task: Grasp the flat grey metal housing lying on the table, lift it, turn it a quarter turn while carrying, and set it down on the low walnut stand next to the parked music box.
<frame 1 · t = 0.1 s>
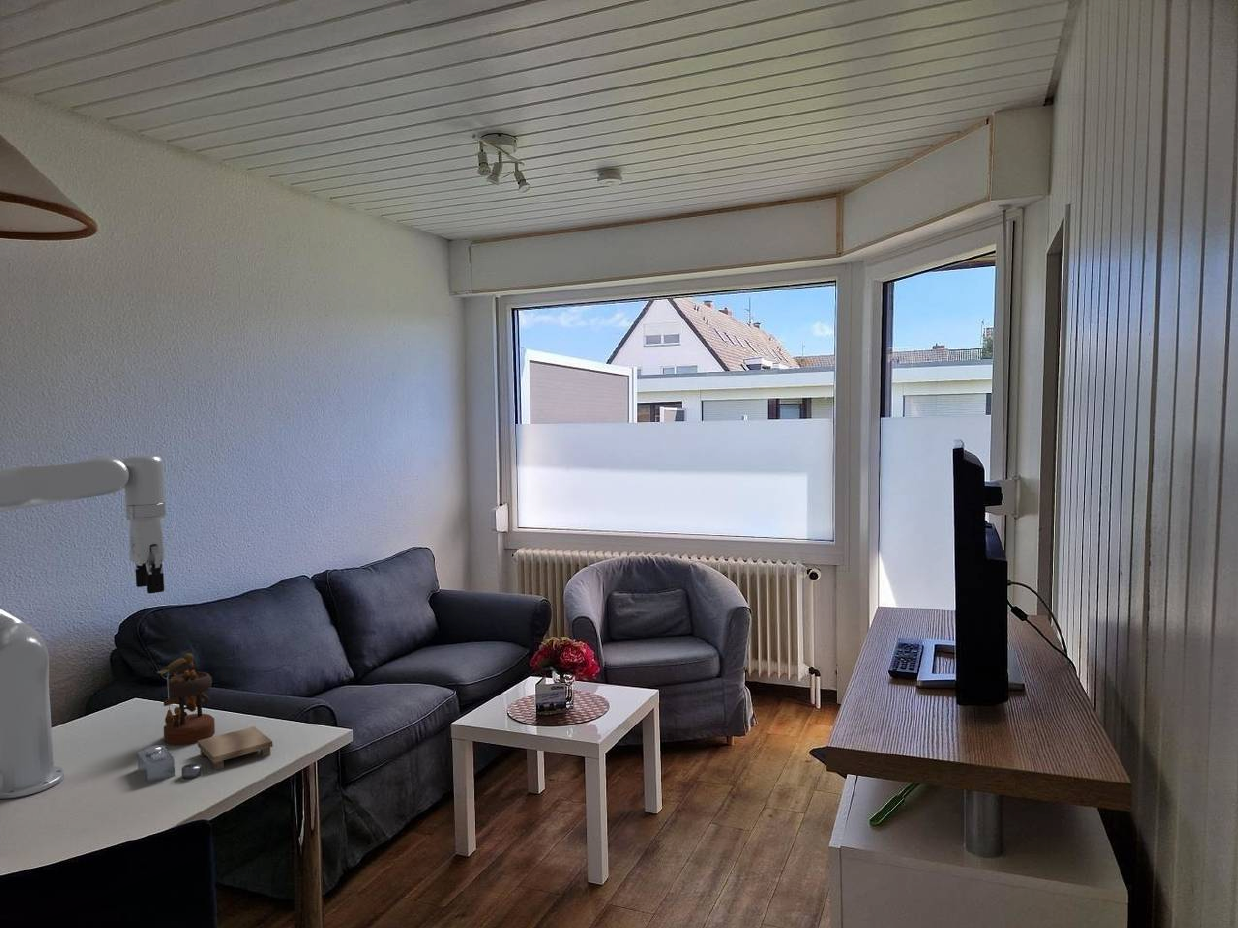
hand: (150, 589, 178), 37 cm above the table, tool pointing down, fingers open, 9 cm apart
dark grey round piece: (191, 776, 167), on the table
stand: (235, 754, 177), on the table
music box: (192, 735, 189), on the table
housing: (156, 773, 169), on the table
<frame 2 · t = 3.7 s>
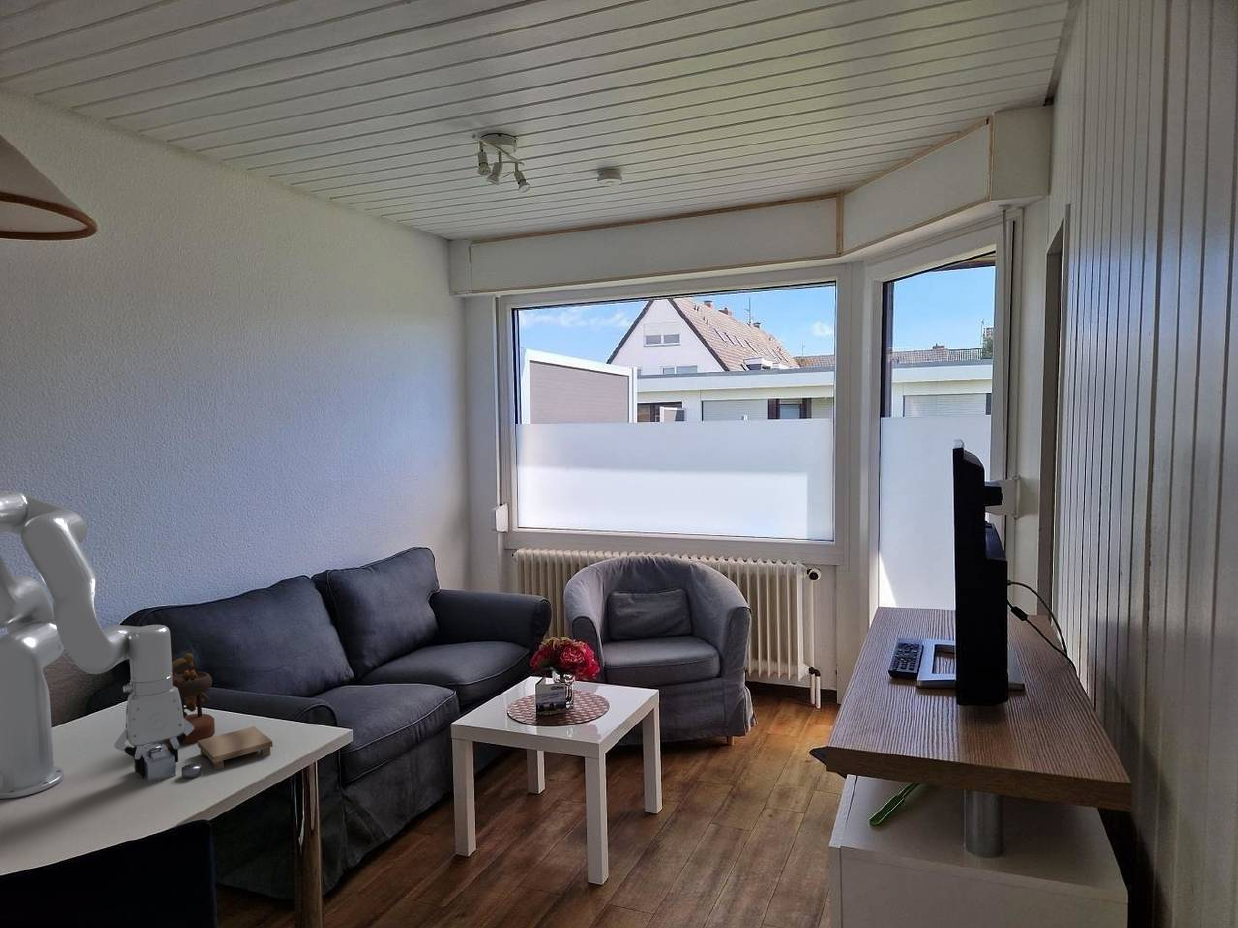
hand: (157, 769, 169), 1 cm above the table, tool pointing down, fingers closed on housing, 5 cm apart
housing: (157, 772, 169), on the table, touching gripper
everything else where it was.
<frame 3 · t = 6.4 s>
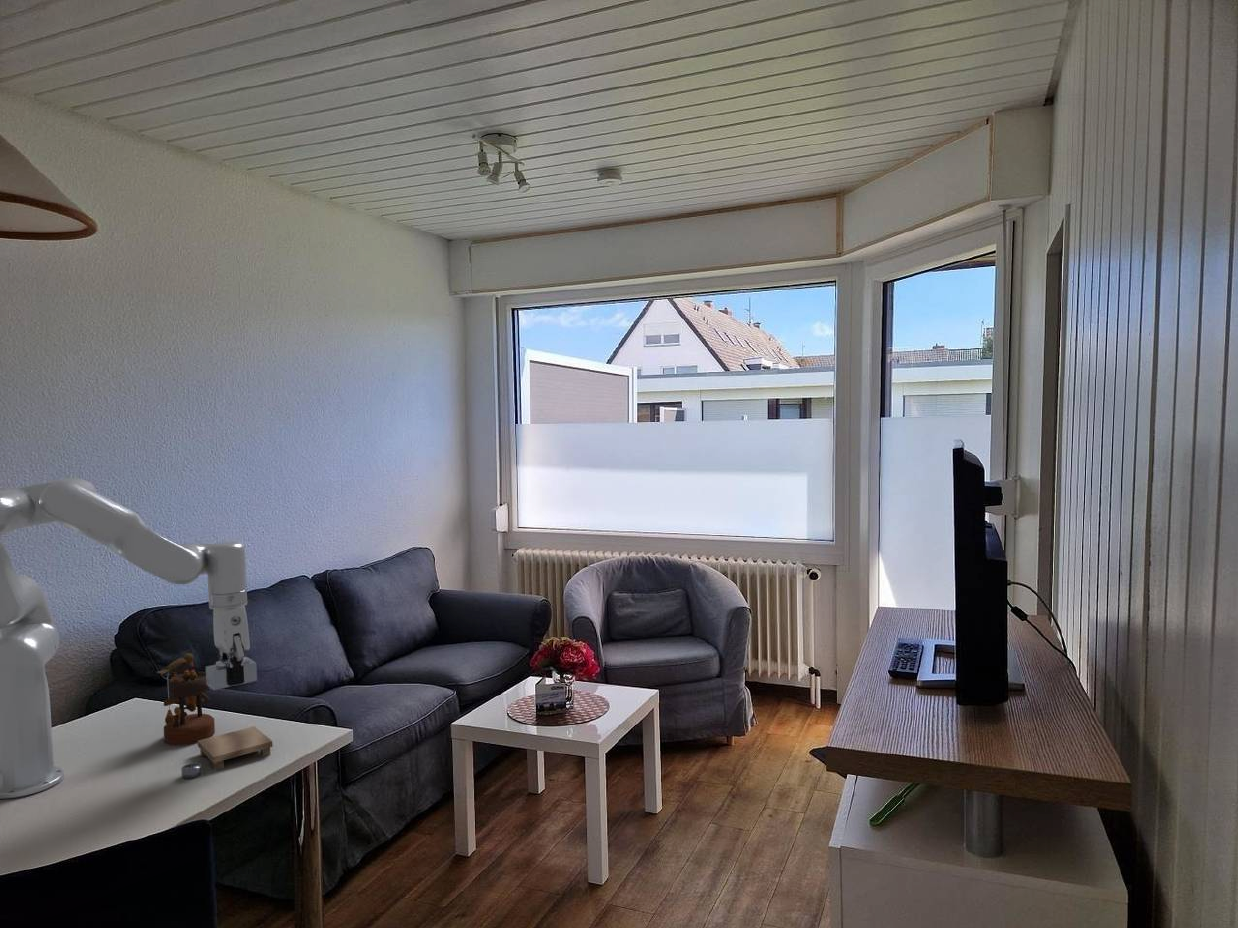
hand: (231, 680, 176), 17 cm above the table, tool pointing down, fingers closed on housing, 5 cm apart
housing: (231, 682, 176), point 16 cm above the table, touching gripper
everything else where it was.
when the fingers open (4 cm above the table, at t = 9.3 s): housing stays where it is, resting on stand.
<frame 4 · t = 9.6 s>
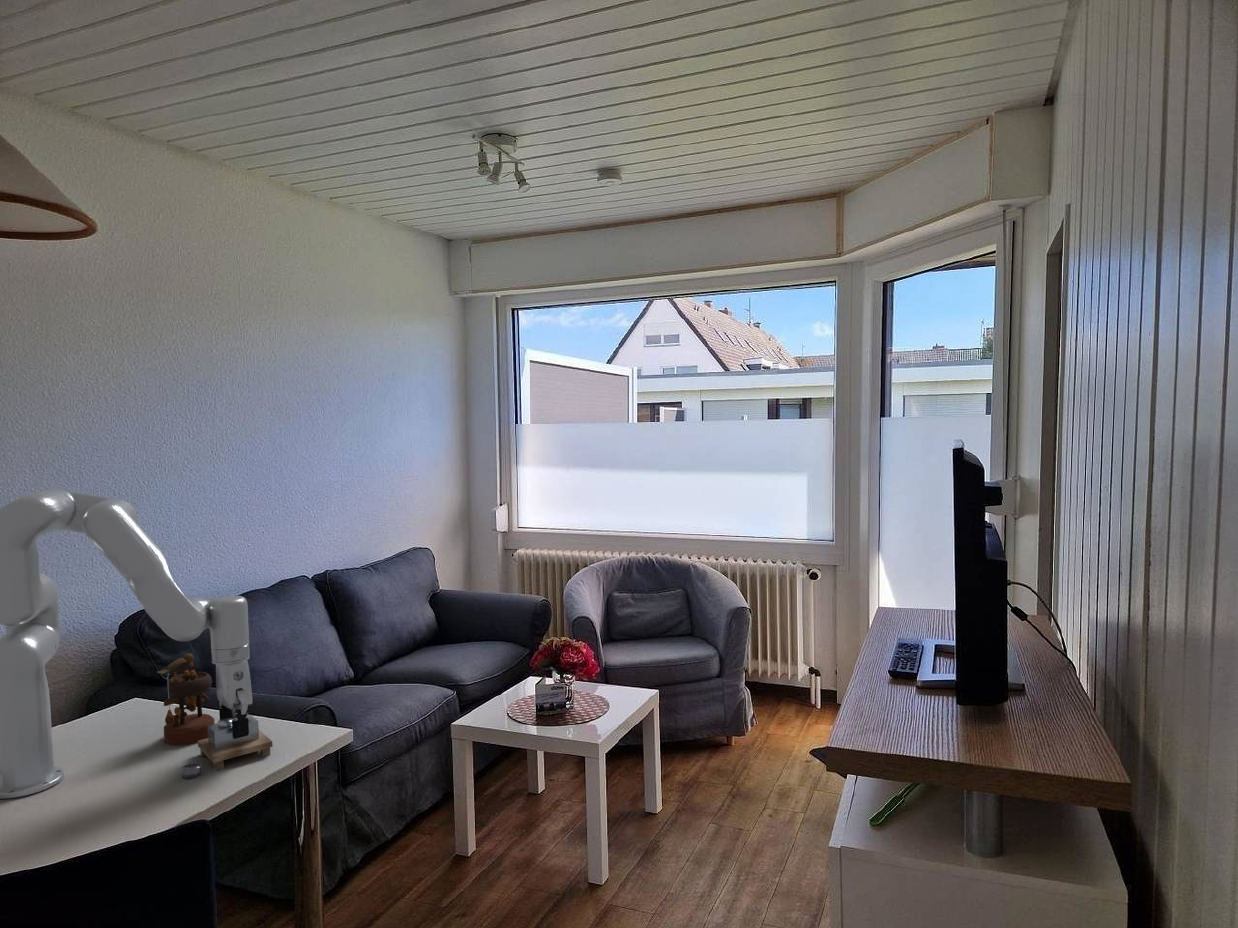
hand: (234, 730, 177), 5 cm above the table, tool pointing down, fingers open, 8 cm apart
housing: (233, 741, 177), point 3 cm above the table, touching stand
everything else where it was.
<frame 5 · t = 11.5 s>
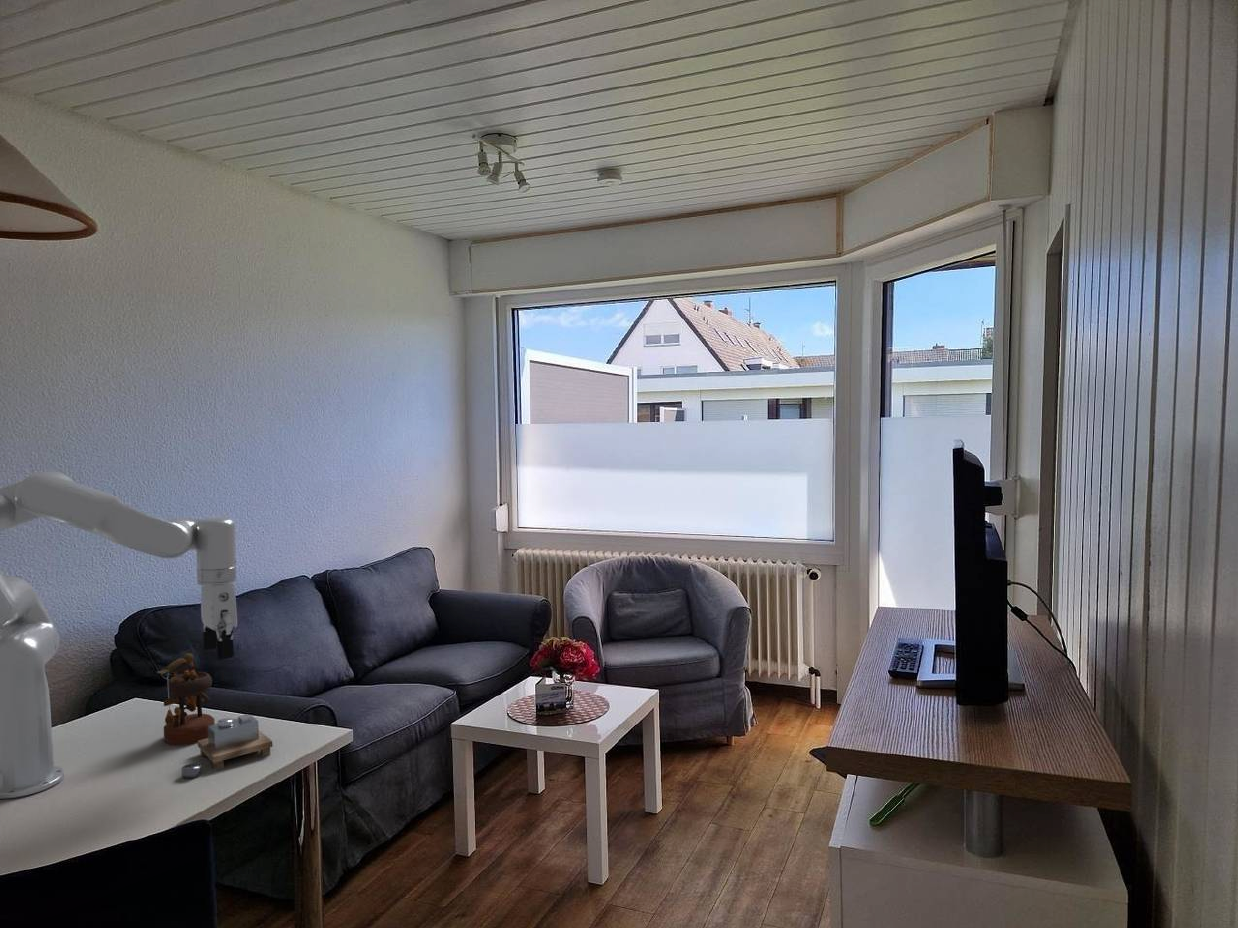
hand: (218, 653, 175), 23 cm above the table, tool pointing down, fingers open, 9 cm apart
nothing on the table moved.
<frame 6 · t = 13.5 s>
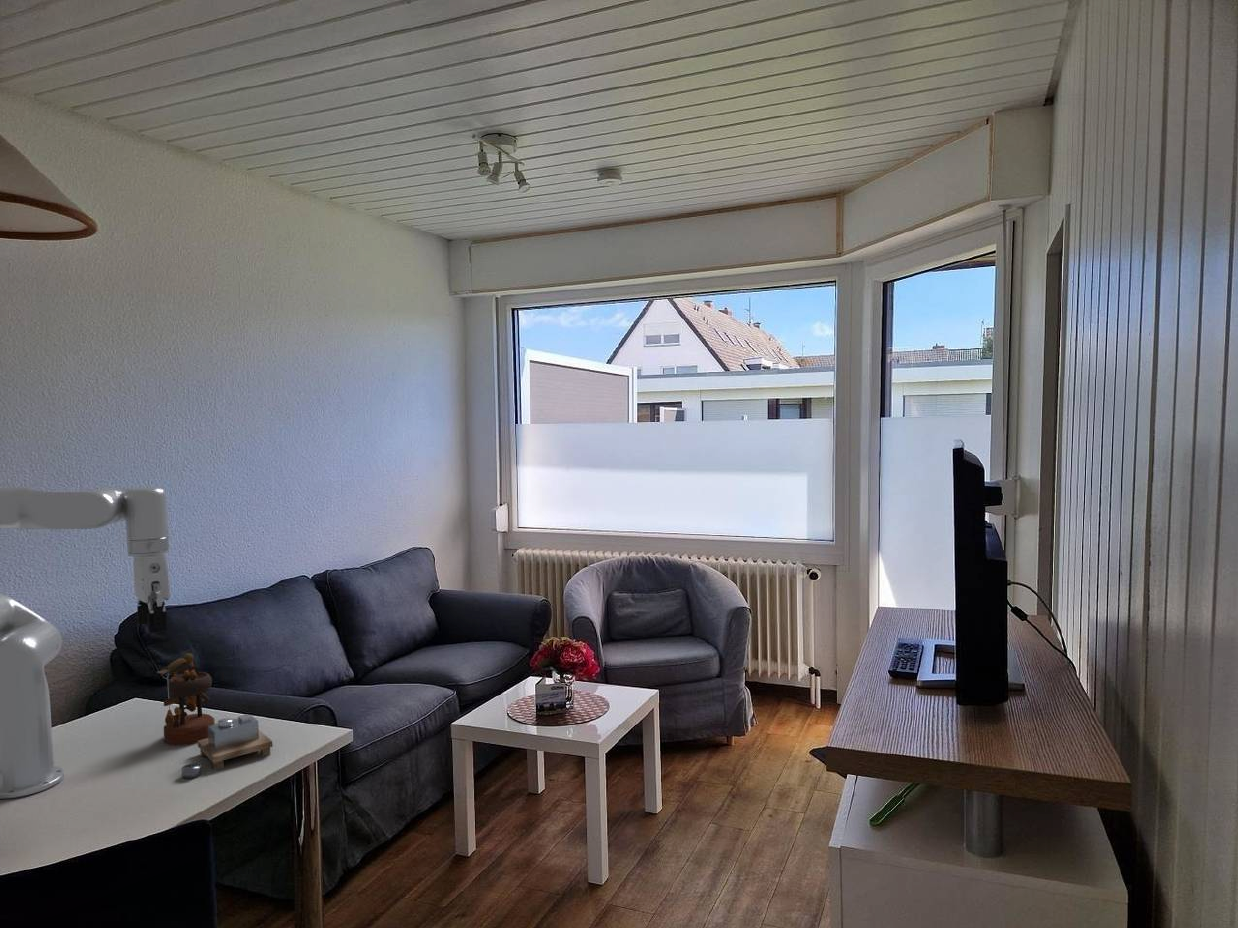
hand: (152, 627, 169), 30 cm above the table, tool pointing down, fingers open, 9 cm apart
nothing on the table moved.
at the end: housing inside the target area on the stand (0.2 cm from its centre), point 3.0 cm above the stand's base; housing tilted 0°; the gripper is holding nothing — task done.
